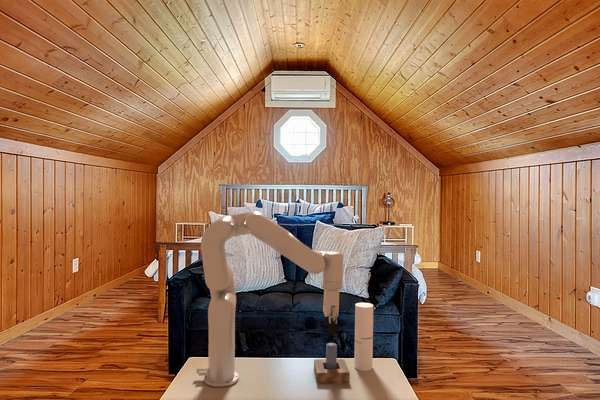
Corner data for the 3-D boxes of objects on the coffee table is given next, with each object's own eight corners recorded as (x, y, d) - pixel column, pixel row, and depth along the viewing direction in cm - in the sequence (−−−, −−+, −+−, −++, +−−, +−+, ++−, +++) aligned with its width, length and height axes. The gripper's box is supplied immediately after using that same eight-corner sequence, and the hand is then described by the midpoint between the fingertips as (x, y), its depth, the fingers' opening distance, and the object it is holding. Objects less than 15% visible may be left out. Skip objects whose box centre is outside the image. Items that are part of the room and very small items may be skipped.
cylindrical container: (372, 371, 164) (373, 308, 163) (353, 369, 165) (354, 306, 165) (372, 364, 171) (373, 303, 170) (354, 362, 172) (355, 302, 172)
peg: (326, 378, 157) (326, 346, 157) (325, 373, 161) (325, 343, 161) (337, 378, 157) (337, 346, 157) (335, 373, 161) (336, 342, 161)
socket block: (316, 383, 153) (317, 372, 153) (313, 369, 165) (314, 359, 165) (349, 383, 153) (349, 372, 153) (344, 369, 165) (344, 359, 165)
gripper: (320, 279, 167) (318, 322, 167) (325, 289, 149) (323, 337, 150) (338, 280, 167) (337, 322, 168) (345, 290, 150) (344, 337, 150)
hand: (330, 329), depth 159 cm, fingers open, 9 cm apart
